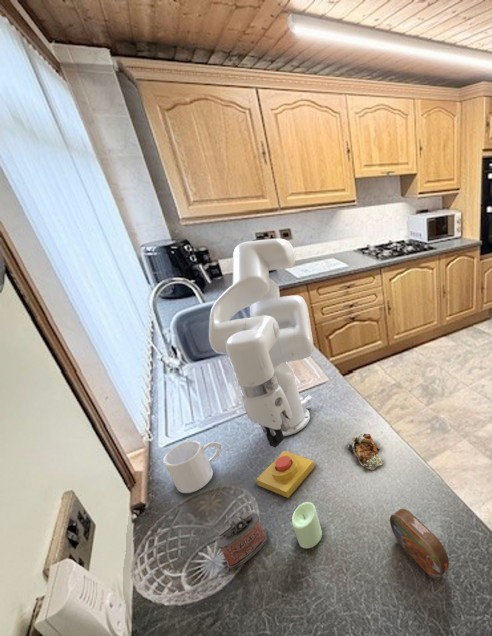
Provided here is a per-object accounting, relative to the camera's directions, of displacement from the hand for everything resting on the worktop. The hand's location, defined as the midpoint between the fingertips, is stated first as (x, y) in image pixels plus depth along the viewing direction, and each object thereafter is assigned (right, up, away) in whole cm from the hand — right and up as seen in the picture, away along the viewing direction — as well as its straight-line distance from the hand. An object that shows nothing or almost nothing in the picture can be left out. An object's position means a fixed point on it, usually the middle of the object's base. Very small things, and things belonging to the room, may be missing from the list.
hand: (277, 442), depth 86 cm
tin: (+35, -18, -14) cm, 42 cm away
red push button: (+1, -7, +3) cm, 8 cm away
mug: (-22, -11, +6) cm, 25 cm away
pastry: (+21, -7, +10) cm, 24 cm away
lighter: (-1, -19, -12) cm, 22 cm away
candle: (+12, -17, -10) cm, 23 cm away
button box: (+1, -10, +4) cm, 11 cm away
